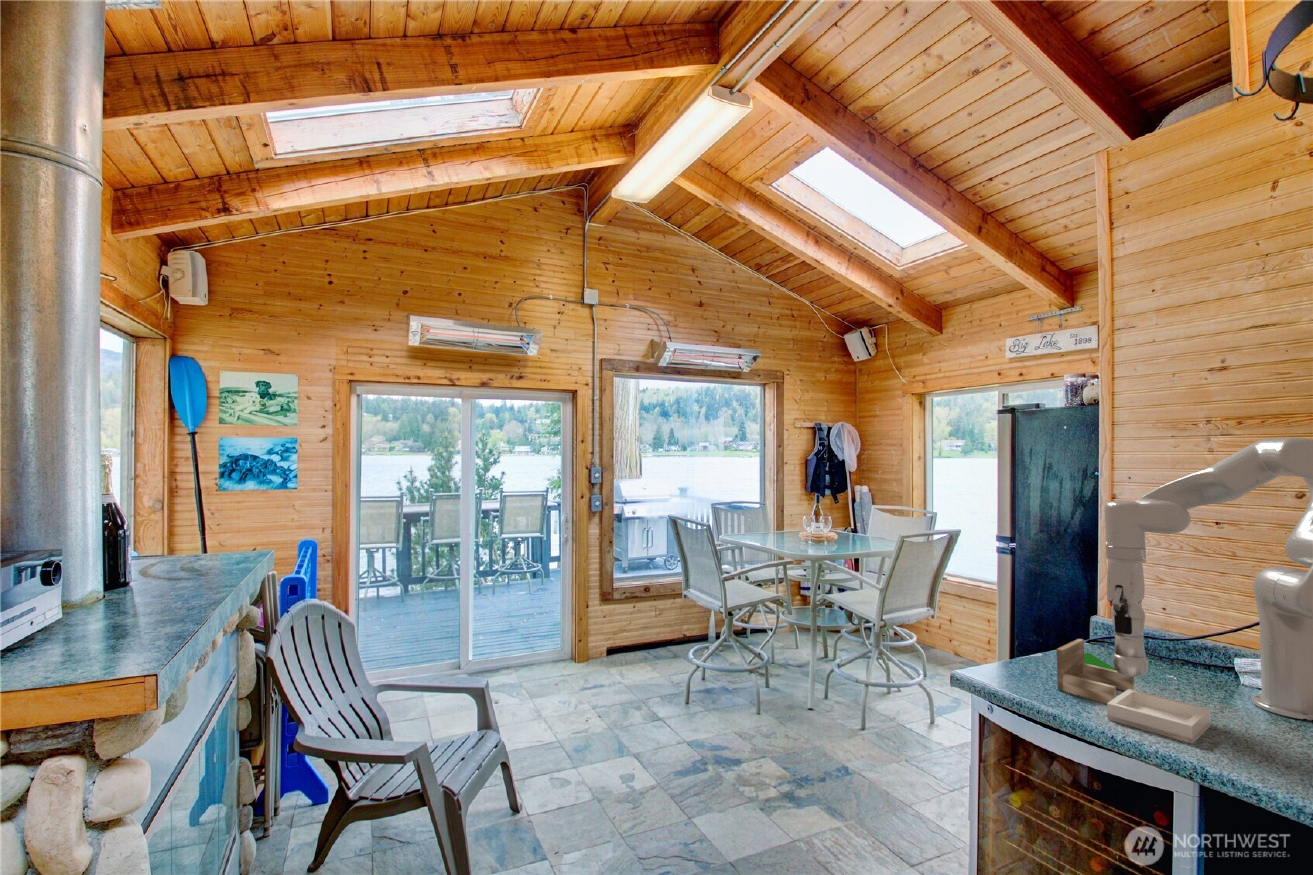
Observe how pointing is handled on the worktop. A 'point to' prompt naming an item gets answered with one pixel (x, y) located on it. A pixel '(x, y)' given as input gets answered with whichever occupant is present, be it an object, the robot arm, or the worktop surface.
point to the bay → (1087, 675)
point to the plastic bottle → (1131, 645)
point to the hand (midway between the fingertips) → (1128, 629)
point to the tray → (1159, 715)
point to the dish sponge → (1096, 661)
